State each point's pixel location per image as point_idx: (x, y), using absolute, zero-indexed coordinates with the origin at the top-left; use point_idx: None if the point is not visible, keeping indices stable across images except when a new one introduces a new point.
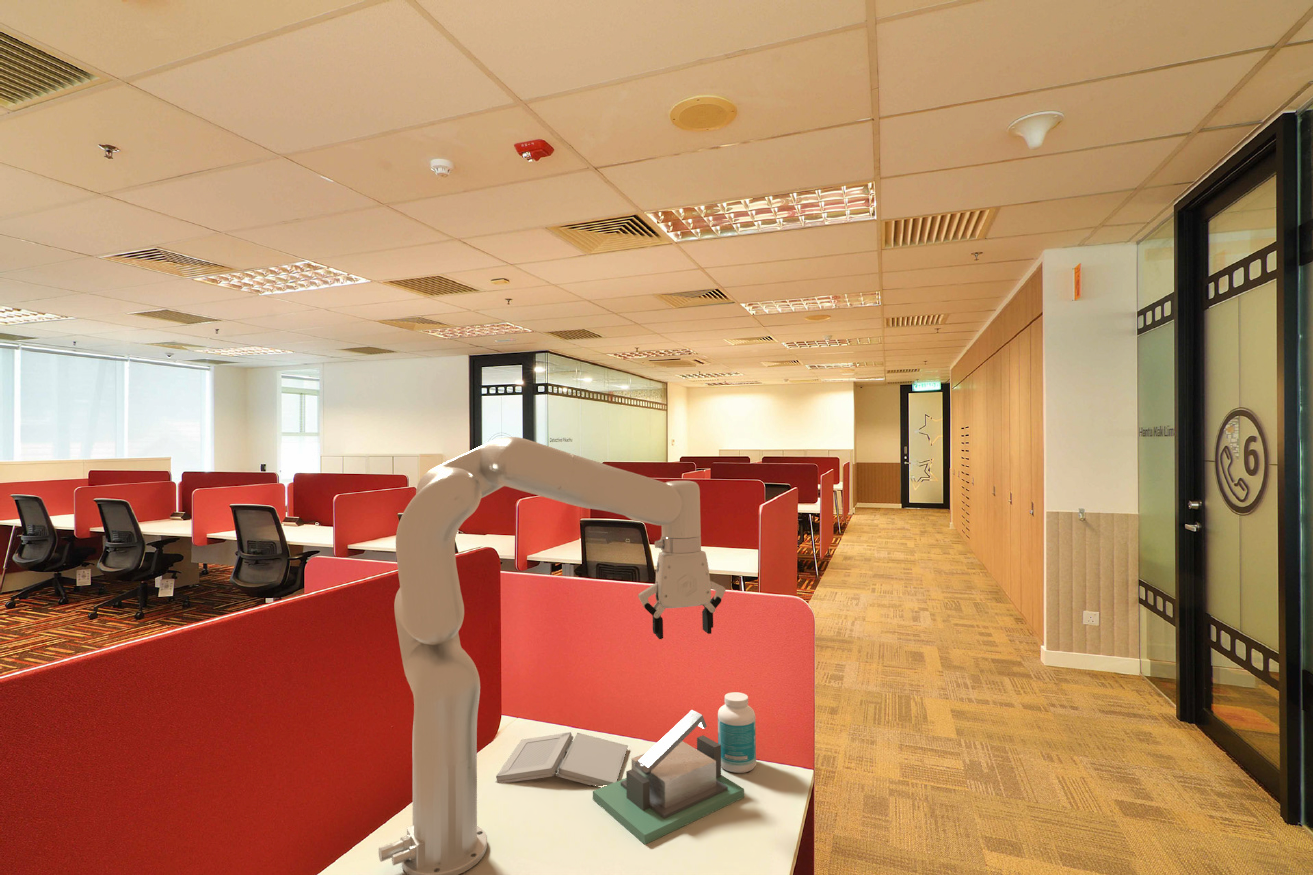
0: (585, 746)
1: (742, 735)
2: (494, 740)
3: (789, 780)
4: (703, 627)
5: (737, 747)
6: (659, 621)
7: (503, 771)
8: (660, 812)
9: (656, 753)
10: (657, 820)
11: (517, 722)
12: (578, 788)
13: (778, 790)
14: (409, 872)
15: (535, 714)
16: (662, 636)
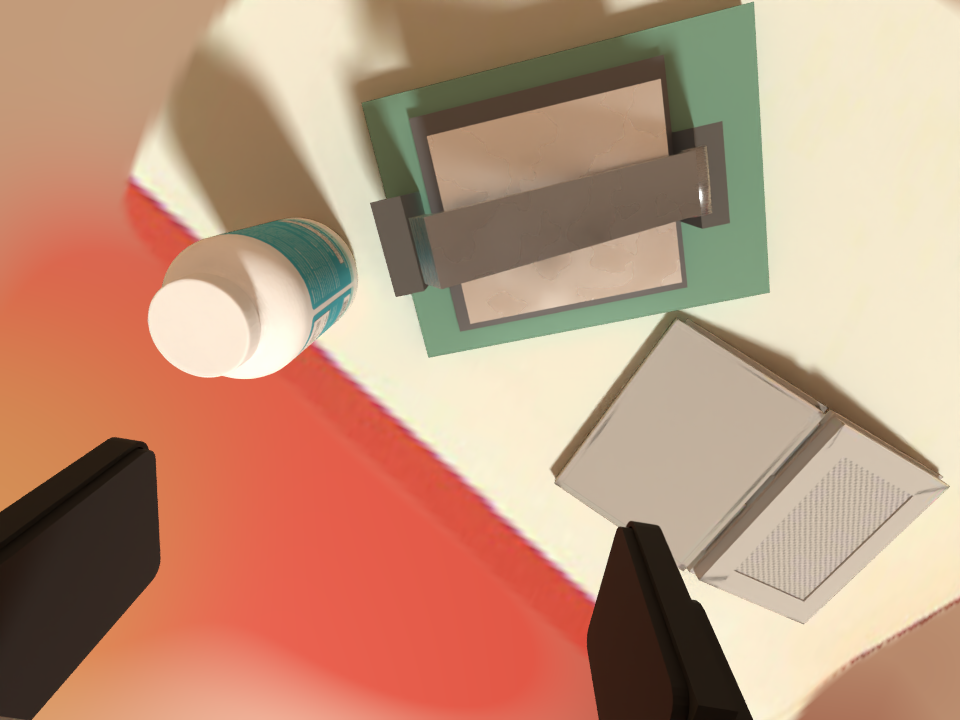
0: (689, 501)
1: (265, 231)
2: (849, 658)
3: (200, 127)
4: (144, 567)
5: (299, 234)
6: (720, 670)
7: (925, 496)
8: (664, 75)
9: (648, 187)
10: (681, 59)
11: (755, 714)
12: (767, 354)
13: (256, 92)
14: None
15: None
16: (631, 533)
